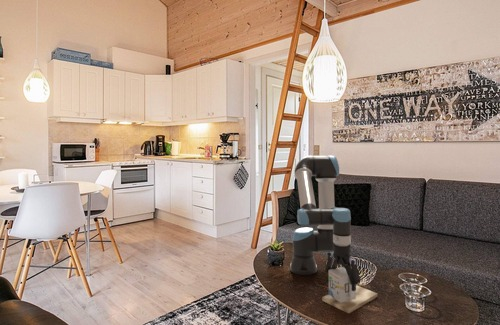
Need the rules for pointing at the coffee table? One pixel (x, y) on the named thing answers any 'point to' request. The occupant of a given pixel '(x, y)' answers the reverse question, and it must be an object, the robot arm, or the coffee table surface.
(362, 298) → the board
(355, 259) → the robot arm
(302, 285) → the coffee table surface
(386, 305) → the coffee table surface
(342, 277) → the ink box
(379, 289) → the coffee table surface
